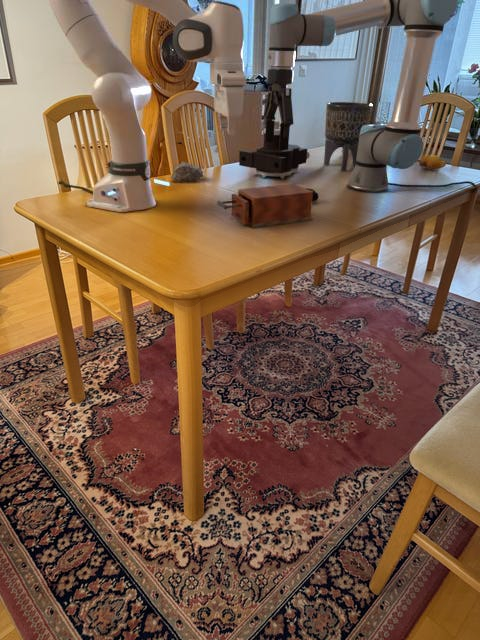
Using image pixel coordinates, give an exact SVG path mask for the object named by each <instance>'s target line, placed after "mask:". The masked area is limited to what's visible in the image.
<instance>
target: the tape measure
mask: <svg viewBox="0 0 480 640" xmlns="http://www.w3.org/2000/svg"><path fill="white" fill-rule="evenodd" d="M304 188H305V189H307V190H310V191H312V192H313V197H312V202H317V201H318V200H319V194H318V192H316V190H315V189H313V188H309V187H308V188H307V187H304Z"/></svg>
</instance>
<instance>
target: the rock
mask: <svg viewBox="0 0 480 640" xmlns="http://www.w3.org/2000/svg"><path fill="white" fill-rule="evenodd" d="M201 178H202V179H203V178H204V171H203V170H202V169H201V168H200V167H199V166H197V165H194V164H192V163H189V162H186V161H181V163H180V164H179V165H177V166H176V167H175V168H174V169H173V171H172V173H171V179H170V180H171V181H172V182H177V183H189V182H191V183H192V182H196V181H197V180H200V179H201Z"/></svg>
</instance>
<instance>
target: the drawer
mask: <svg viewBox="0 0 480 640" xmlns="http://www.w3.org/2000/svg"><path fill="white" fill-rule="evenodd" d="M227 204H229V205H227ZM230 204H231V205H230ZM216 205H217V206H218V207H219V208H222V209H223V210H225V211H227V210H228V209H231V217H232V218H234V219H236V220H237V221H238V222H240V223H241V224H243V225H246V226H247V225H248V220H250V221H252V200H250V199H248V198H247V197H245V196H243V195H241V197H240V196H238V193H231V200H224V201H221V200H217V201H216Z"/></svg>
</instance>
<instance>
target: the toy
mask: <svg viewBox="0 0 480 640" xmlns="http://www.w3.org/2000/svg"><path fill="white" fill-rule="evenodd" d="M417 162H418V165H419V166H420V167H425V168H427V169H429V170H432V171H433V170H434V171H435V170H438V169H443V168H444V167H446V166H447V162H446V161H444V160H442V159H441V158H440V156H439V155H435V154H431V155H426V156H423V157H420V159H418V161H417Z"/></svg>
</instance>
